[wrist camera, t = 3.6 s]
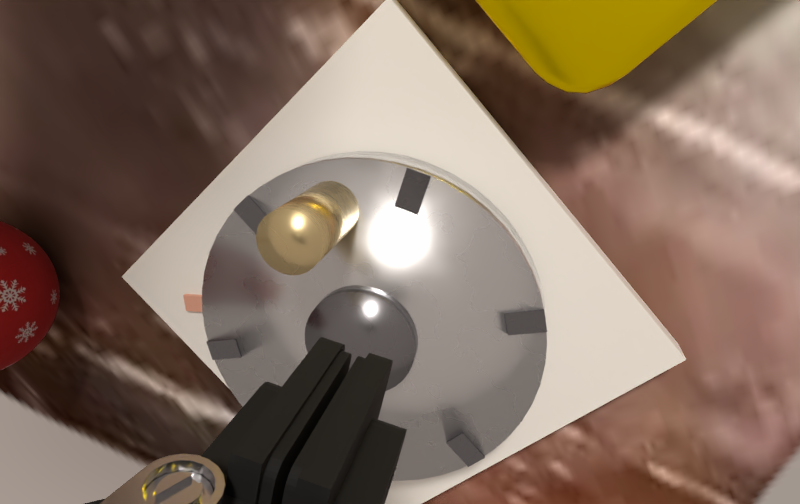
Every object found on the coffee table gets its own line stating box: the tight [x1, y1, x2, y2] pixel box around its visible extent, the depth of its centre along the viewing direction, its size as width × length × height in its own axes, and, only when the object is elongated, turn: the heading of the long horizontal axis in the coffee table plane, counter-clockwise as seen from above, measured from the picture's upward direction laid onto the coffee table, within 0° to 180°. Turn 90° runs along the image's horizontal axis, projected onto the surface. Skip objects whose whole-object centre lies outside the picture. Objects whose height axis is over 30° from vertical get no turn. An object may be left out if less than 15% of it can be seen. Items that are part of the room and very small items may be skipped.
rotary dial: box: [202, 151, 547, 481], centre depth 24 cm, size 16×16×6 cm
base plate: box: [122, 0, 686, 504], centre depth 28 cm, size 20×20×2 cm
